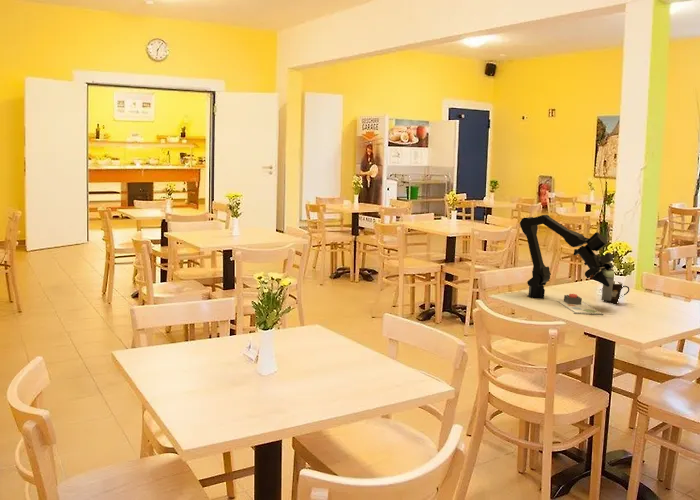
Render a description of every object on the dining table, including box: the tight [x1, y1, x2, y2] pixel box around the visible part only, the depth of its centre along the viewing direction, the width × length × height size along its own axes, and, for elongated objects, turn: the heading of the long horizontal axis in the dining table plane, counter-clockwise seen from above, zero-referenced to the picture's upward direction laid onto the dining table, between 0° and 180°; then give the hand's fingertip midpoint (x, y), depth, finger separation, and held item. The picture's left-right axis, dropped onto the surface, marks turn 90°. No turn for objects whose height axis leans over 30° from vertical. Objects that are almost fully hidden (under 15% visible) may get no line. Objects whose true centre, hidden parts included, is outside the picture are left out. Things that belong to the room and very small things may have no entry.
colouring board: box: [556, 300, 604, 316], centre depth 323 cm, size 13×23×1 cm, turn 4°
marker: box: [601, 269, 615, 301], centre depth 316 cm, size 4×4×13 cm
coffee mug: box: [603, 280, 630, 305], centre depth 337 cm, size 12×9×10 cm
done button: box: [568, 293, 578, 298], centre depth 331 cm, size 4×4×2 cm
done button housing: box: [563, 294, 583, 304], centre depth 331 cm, size 6×6×3 cm
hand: (610, 285), depth 315 cm, fingers closed on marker, 4 cm apart
